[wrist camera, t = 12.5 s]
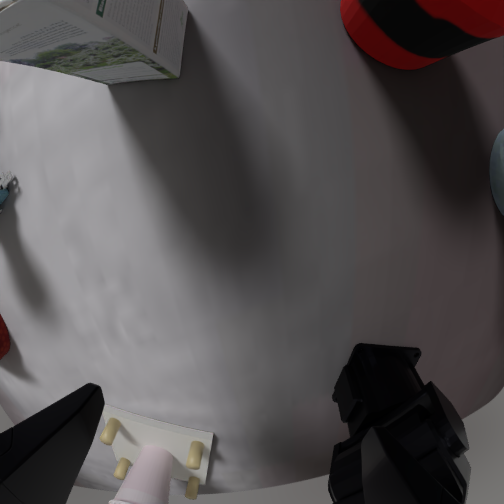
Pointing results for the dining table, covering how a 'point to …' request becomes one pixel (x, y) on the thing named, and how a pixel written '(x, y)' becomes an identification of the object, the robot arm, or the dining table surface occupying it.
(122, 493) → the smoothie
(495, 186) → the teal cylindrical pot
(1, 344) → the canned food
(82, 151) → the dining table surface
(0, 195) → the push button
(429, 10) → the soda can
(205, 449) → the pin plate
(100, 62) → the syrup box
